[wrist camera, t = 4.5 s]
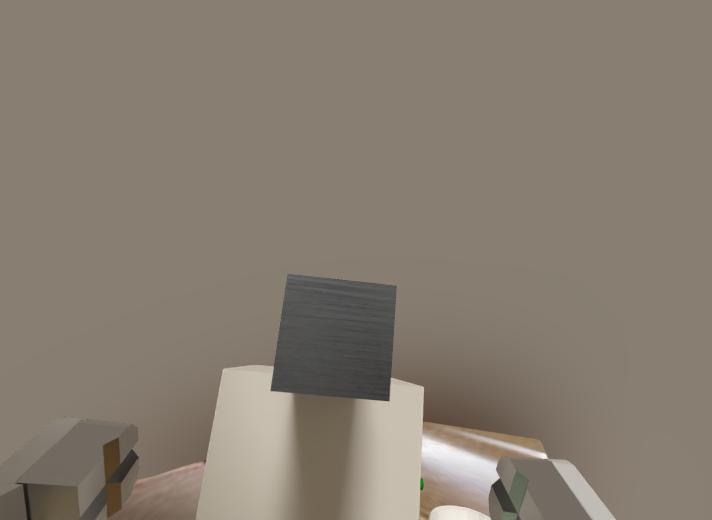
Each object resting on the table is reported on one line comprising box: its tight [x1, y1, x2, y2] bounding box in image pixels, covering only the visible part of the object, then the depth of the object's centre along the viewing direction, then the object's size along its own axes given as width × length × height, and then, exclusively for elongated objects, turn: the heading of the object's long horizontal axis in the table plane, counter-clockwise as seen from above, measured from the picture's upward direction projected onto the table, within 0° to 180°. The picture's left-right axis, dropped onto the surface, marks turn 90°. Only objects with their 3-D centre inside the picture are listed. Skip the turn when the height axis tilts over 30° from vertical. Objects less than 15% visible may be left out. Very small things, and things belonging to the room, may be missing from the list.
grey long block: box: [270, 274, 396, 401], centre depth 19 cm, size 6×18×5 cm, turn 5°
